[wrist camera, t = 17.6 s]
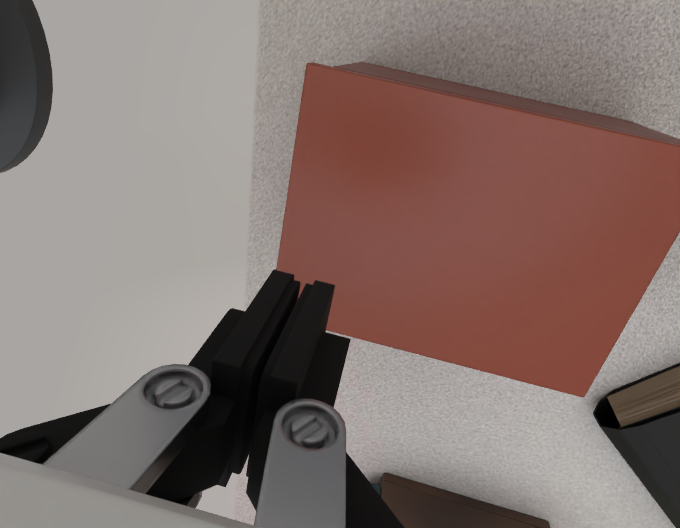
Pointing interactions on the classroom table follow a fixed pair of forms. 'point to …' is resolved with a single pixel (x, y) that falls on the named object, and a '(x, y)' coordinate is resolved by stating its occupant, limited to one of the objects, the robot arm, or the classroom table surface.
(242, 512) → the classroom table surface
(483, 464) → the classroom table surface
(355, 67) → the chest
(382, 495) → the cabinet
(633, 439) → the black journal
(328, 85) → the chest lid
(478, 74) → the classroom table surface
